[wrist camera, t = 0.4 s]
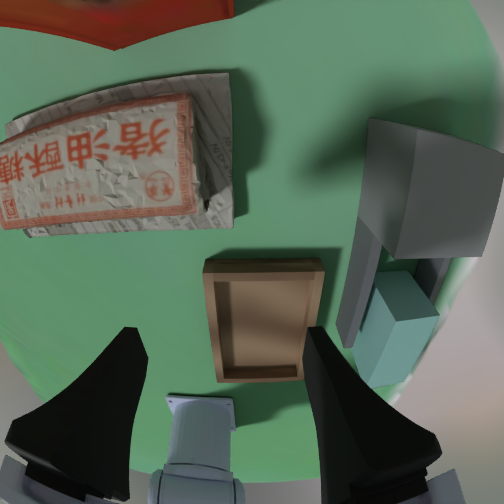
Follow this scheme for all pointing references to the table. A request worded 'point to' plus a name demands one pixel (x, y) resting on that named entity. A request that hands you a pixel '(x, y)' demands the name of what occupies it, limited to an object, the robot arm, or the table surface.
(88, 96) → the packaged product
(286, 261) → the tray
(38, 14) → the file binder
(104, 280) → the table surface
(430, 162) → the bay
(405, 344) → the tall teal block
